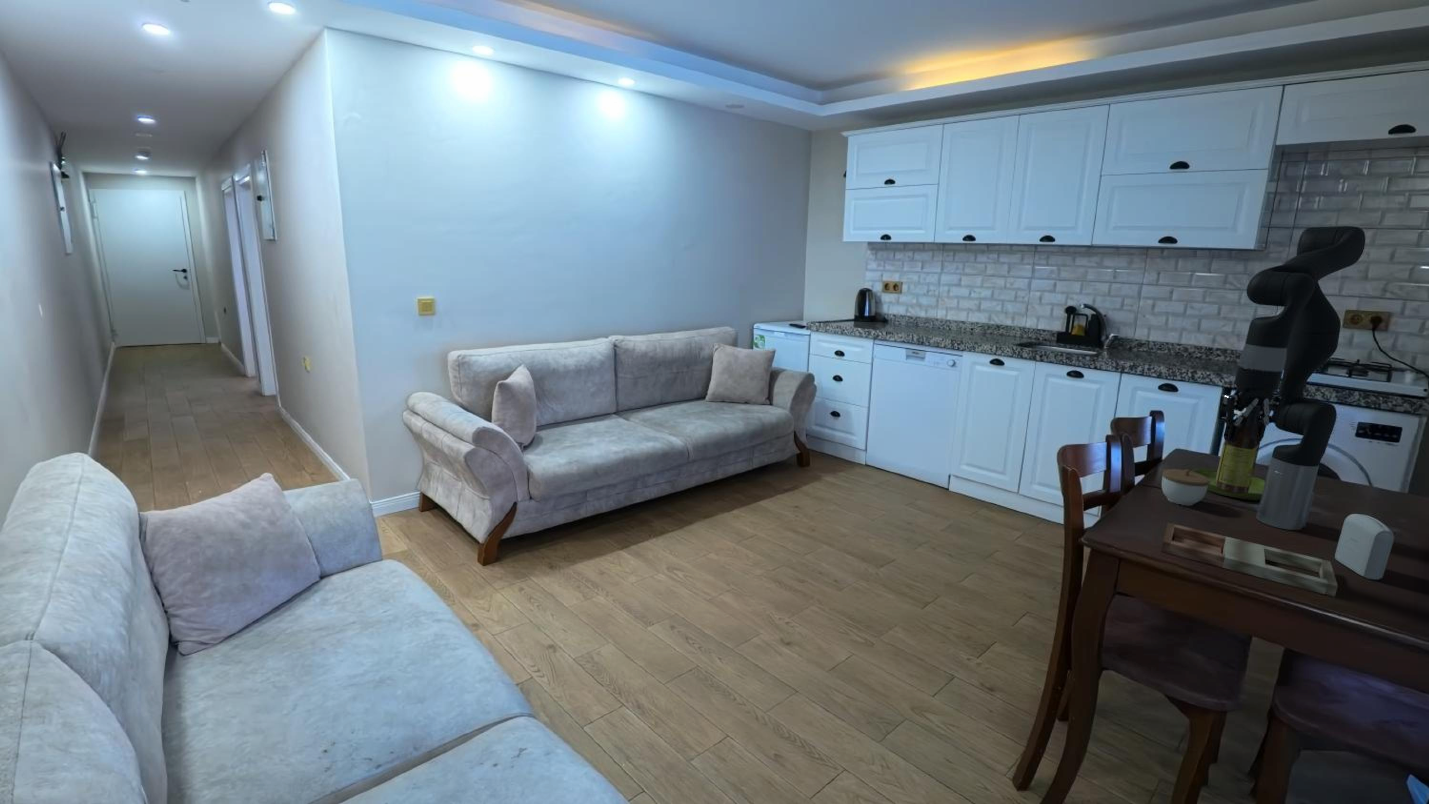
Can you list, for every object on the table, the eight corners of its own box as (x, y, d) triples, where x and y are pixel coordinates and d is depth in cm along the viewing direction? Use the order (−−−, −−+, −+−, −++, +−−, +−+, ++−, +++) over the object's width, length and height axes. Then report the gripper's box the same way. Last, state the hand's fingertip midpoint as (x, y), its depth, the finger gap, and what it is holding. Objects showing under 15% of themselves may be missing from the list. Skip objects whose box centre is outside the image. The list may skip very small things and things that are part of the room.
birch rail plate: (1327, 571, 145) (1330, 561, 144) (1334, 596, 134) (1337, 586, 134) (1165, 531, 163) (1167, 522, 162) (1160, 551, 152) (1163, 541, 151)
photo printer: (1329, 557, 152) (1344, 508, 149) (1351, 559, 151) (1366, 510, 148) (1362, 579, 142) (1378, 526, 139) (1385, 581, 141) (1402, 529, 138)
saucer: (1295, 505, 184) (1298, 494, 183) (1222, 502, 184) (1224, 492, 183) (1239, 479, 204) (1241, 469, 203) (1172, 476, 204) (1175, 467, 203)
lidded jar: (1188, 511, 176) (1195, 478, 174) (1148, 496, 186) (1155, 465, 183) (1212, 506, 180) (1220, 474, 178) (1173, 492, 190) (1179, 461, 188)
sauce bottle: (1254, 496, 144) (1277, 409, 139) (1223, 493, 145) (1244, 407, 140) (1237, 486, 150) (1258, 402, 145) (1207, 483, 151) (1227, 400, 146)
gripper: (1272, 363, 145) (1254, 435, 149) (1216, 362, 143) (1199, 436, 147) (1306, 370, 138) (1286, 445, 142) (1247, 369, 136) (1229, 446, 140)
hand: (1242, 440), depth 144 cm, fingers closed on sauce bottle, 6 cm apart
